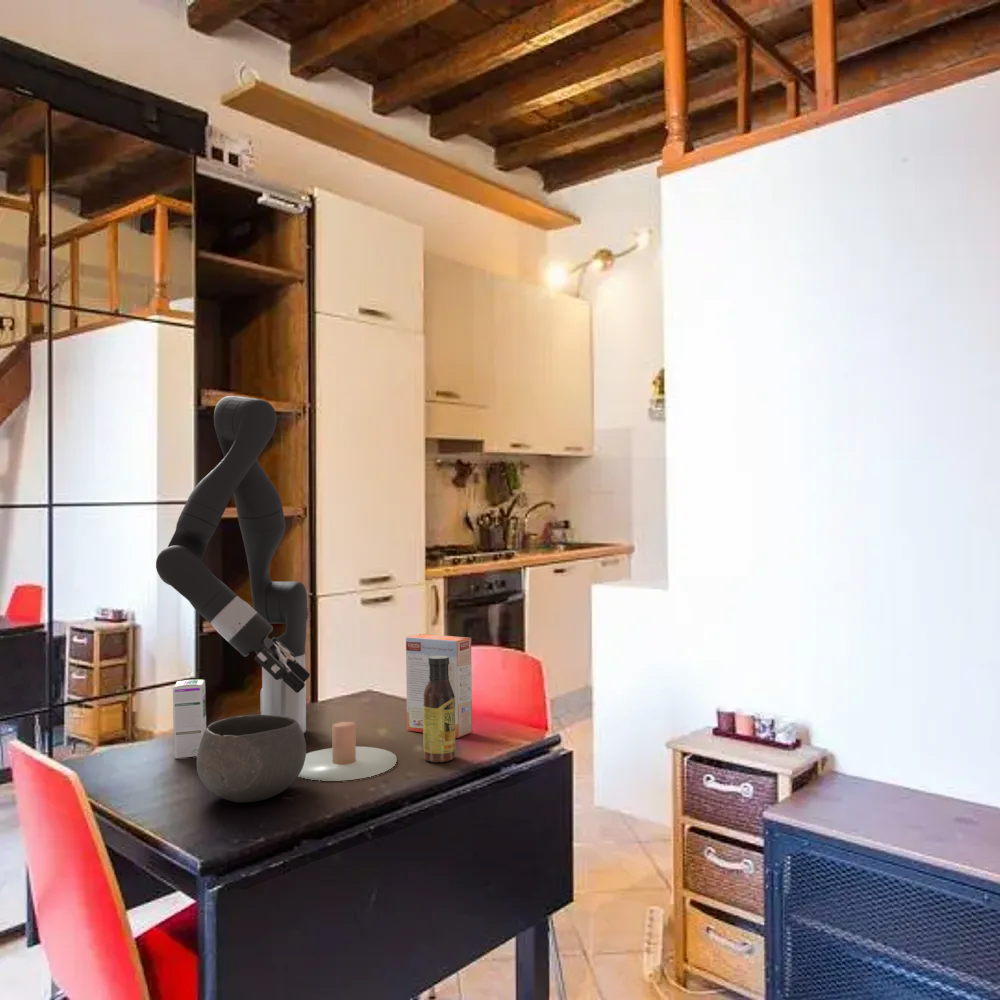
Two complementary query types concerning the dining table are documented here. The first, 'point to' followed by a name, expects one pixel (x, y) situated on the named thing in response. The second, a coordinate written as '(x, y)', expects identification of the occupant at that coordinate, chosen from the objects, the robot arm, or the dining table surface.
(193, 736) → the syrup box
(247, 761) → the bowl
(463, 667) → the cracker box
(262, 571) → the robot arm
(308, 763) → the lid
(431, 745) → the sauce bottle
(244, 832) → the dining table surface
